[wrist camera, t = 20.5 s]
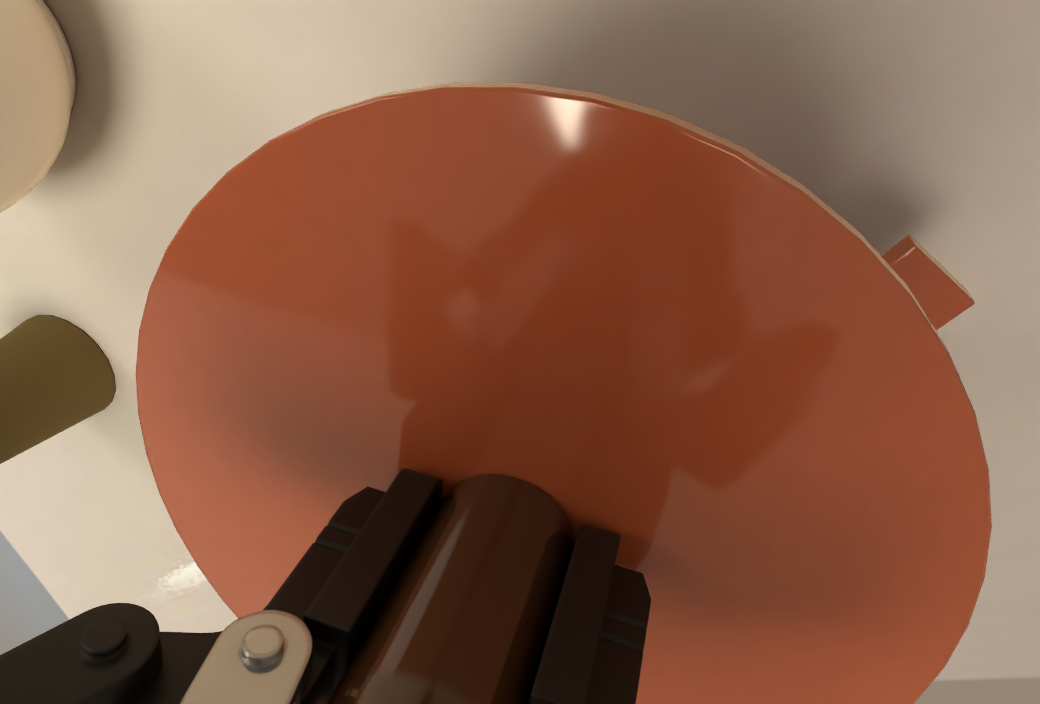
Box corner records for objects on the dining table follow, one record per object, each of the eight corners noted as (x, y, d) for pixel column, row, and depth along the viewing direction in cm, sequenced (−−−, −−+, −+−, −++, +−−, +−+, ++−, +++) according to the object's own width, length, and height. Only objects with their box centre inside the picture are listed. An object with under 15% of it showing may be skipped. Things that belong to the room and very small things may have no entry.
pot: (430, 402, 35) (366, 495, 29) (754, 59, 24) (755, 96, 19) (656, 588, 36) (638, 711, 31) (1046, 341, 26) (1132, 457, 20)
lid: (78, 452, 17) (-204, 663, 12) (437, -186, 10) (69, -347, 4) (562, 828, 19) (494, 1148, 14) (1200, 553, 11) (1578, 1055, 6)
